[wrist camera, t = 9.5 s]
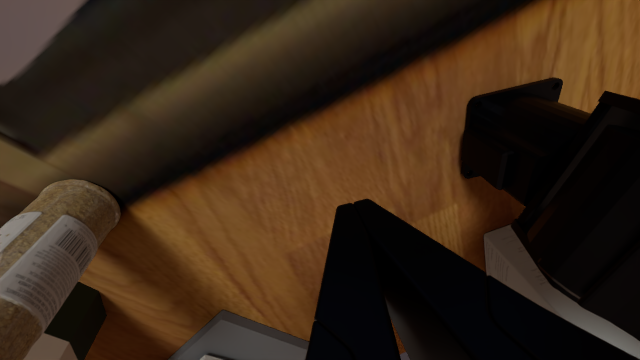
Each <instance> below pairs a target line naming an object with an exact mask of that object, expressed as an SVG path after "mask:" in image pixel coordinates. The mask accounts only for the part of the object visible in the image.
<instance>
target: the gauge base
mask: <svg viewBox="0 0 640 360" xmlns="http://www.w3.org/2000/svg"><path fill="white" fill-rule="evenodd" d="M308 345H309V342H308V341H305V340H302V339H300V338H297V337H294V336H292V335H289V334H286V333H284V332H281V331H278V330H276V329H273V328H270V327H268V326H265V325H262V324H260V323H257V322H254V321H252V320H249V319H246V318H244V317H241V316H238V315H236V314H233V313H230V312H228V311H225V310H222V311H221V312H220V313H219V314H217V315H216V316H215V317H214V318H213V319H212V320H211V321H210V322H209V323H208V324H206V325H205V326H204V327H203V328H202V329H201V330H200V331H199V332H198V333H196V334H195V335H194V336H193V337H192V338H191V339H190V340H189V341H188V342H186V343H185V344H184V345H183V346H182V347H181V348H180V349H179V350H178V351H177V352H175V353H174V354H173V355H172V356H171V357H170V358H169V359H168V360H200V359H201V358H202V357H203V356H204V355H208V356H212V357H215V358H219V359H223V360H305V357H306V353H307V349H308Z"/></svg>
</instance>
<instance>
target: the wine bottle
mask: <svg viewBox="0 0 640 360" xmlns="http://www.w3.org/2000/svg"><path fill="white" fill-rule="evenodd" d="M106 316H107V315H106V312H105V309H104V306H103V303H102V300H101V297H100V294H99V291H97V290H95V289H93V288H90V287H88V286H86V285H84V284H82V283H80V282H77V283H76V285H75V286H74V288H73V289H72V291H71V293H70V294H69V296H68V297H67V299H66V300H65V302H64V303H63V304H62V306H61V307H60V309H59V310H58V312H57V313H56V315H55V316H54V318H53V319H52V321H51V322H50V324H49V325H48V327H47V328H46V330H45V331H44V333H43V334H42V336H41V337H40V338H39V339H38V340H37V341H36V342H35V344H34V345H33V346H32V347H31V349H30V351H29V352H28V354H27V355H26V357H25V358H24V359H23V360H84V359H85V357H86V355H87V353H88V351H89V349H90V347H91V345H92V343H93V341H94V339H95V337H96V335H97V333H98V331H99V330H100V328H101V326H102V324H103V322H104V320H105V318H106Z"/></svg>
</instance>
